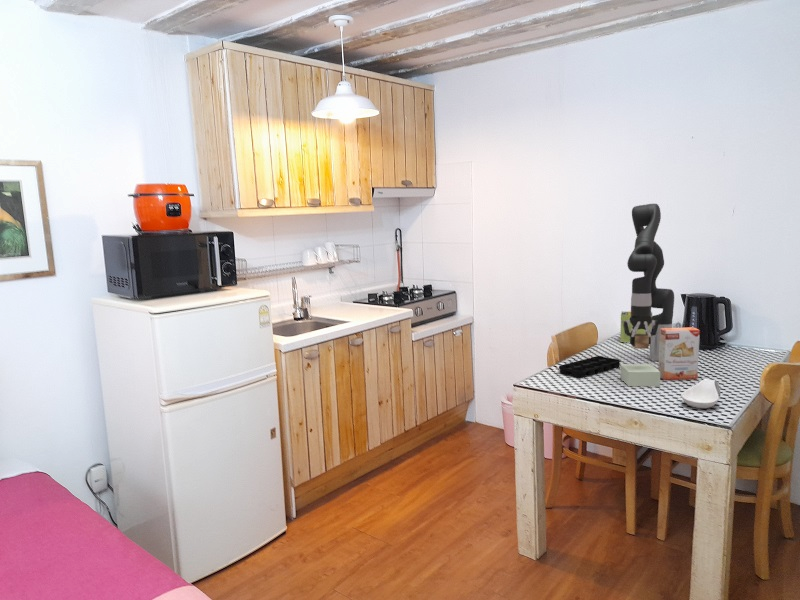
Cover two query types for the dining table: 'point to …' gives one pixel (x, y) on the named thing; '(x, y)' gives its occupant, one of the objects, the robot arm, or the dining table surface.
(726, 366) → the dining table surface
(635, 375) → the stacking base
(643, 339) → the walnut cube
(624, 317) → the protein box
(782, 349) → the dining table surface
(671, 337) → the cracker box
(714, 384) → the spoon rest
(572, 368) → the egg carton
